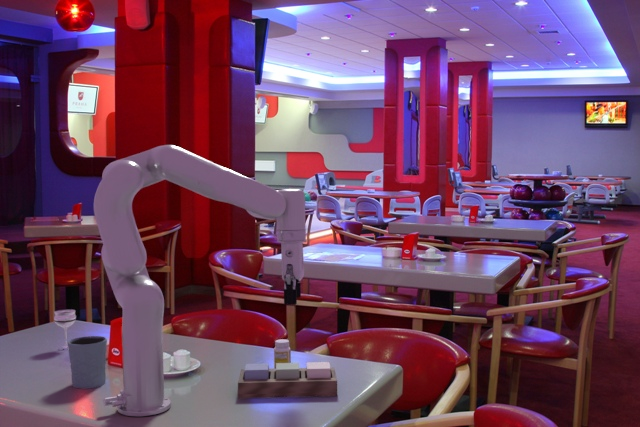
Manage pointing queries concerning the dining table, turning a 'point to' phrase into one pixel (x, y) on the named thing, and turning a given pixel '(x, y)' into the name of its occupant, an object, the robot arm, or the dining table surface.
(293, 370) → the sage key
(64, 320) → the wineglass
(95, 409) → the dining table surface
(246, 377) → the slate key
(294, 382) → the console
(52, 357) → the dining table surface
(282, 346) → the supplement bottle
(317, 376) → the cream key
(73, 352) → the grey blue cup
